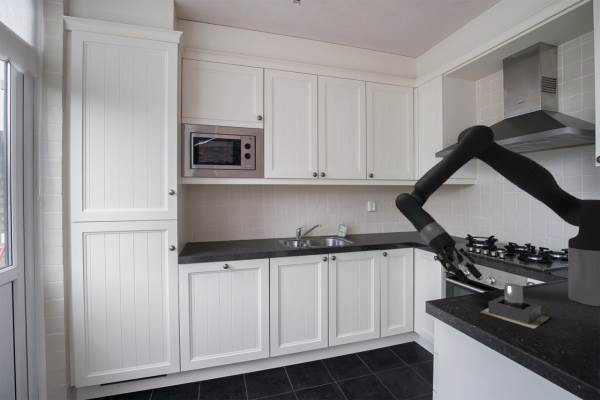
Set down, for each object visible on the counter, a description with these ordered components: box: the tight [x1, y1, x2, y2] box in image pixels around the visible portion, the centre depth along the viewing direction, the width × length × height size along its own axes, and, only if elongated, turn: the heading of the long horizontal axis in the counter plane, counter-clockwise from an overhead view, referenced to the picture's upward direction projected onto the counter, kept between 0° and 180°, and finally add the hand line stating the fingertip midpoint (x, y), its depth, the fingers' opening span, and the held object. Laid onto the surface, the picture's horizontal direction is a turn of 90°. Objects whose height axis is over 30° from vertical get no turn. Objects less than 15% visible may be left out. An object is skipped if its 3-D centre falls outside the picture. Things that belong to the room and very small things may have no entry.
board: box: [480, 307, 550, 329], centre depth 75 cm, size 12×12×1 cm
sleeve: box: [487, 295, 542, 325], centre depth 75 cm, size 9×9×3 cm
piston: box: [504, 282, 524, 309], centre depth 75 cm, size 4×4×8 cm
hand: (473, 279), depth 83 cm, fingers open, 8 cm apart
